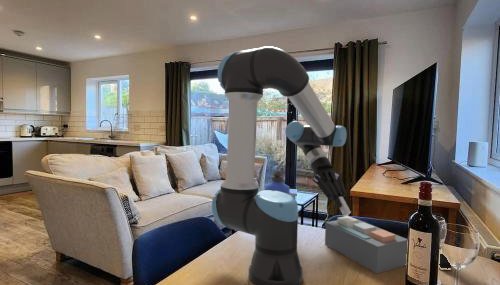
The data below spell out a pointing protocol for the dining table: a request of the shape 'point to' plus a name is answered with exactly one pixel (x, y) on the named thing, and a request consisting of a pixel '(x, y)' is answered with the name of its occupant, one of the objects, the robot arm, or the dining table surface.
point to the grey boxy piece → (366, 247)
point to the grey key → (364, 228)
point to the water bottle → (277, 183)
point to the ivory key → (347, 221)
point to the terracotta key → (382, 236)
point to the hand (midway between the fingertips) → (347, 214)
